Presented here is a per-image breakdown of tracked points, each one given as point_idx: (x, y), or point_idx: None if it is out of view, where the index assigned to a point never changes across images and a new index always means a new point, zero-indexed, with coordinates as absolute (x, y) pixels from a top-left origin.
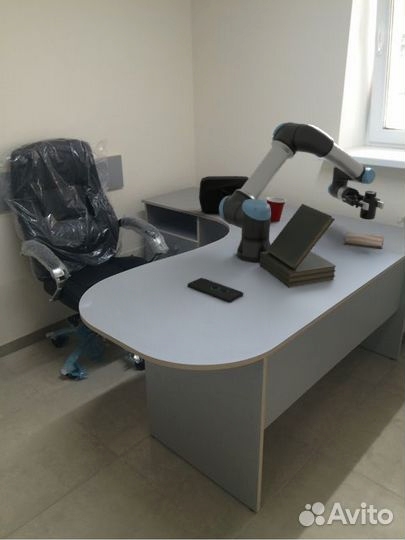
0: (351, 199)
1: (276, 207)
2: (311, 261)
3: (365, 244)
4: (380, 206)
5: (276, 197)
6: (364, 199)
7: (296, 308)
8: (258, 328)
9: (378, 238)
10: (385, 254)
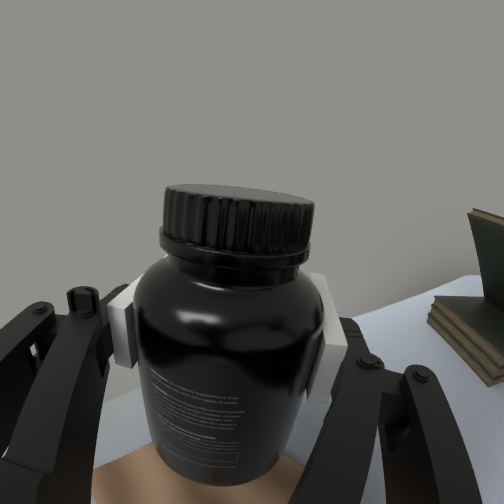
0: (436, 427)
1: None
2: (472, 310)
3: None
4: None
5: None
6: (316, 288)
7: (460, 294)
8: (479, 286)
9: (132, 471)
10: None
